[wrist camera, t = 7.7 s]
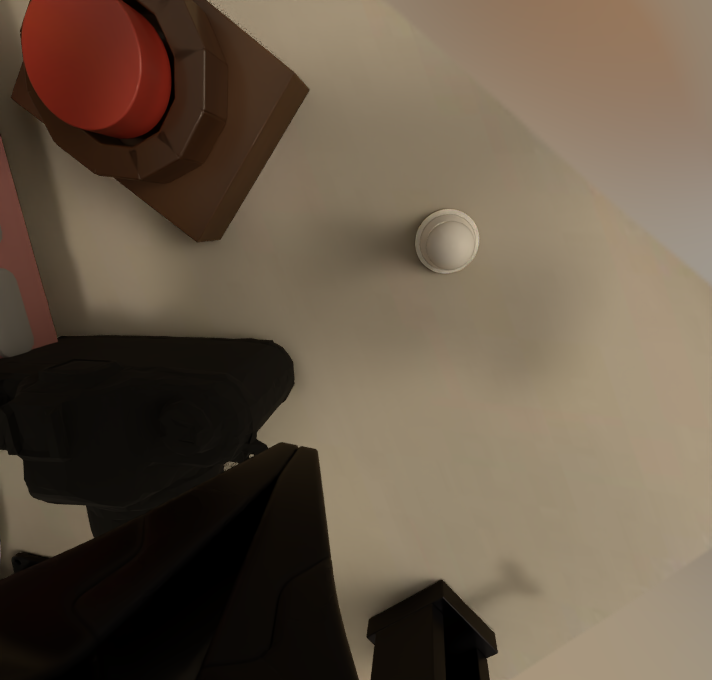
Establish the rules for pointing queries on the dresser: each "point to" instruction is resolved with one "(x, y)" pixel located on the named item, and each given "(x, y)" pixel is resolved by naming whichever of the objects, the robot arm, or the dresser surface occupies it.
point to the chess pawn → (447, 241)
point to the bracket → (430, 639)
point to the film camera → (136, 416)
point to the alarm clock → (19, 278)
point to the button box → (192, 120)
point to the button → (97, 65)
